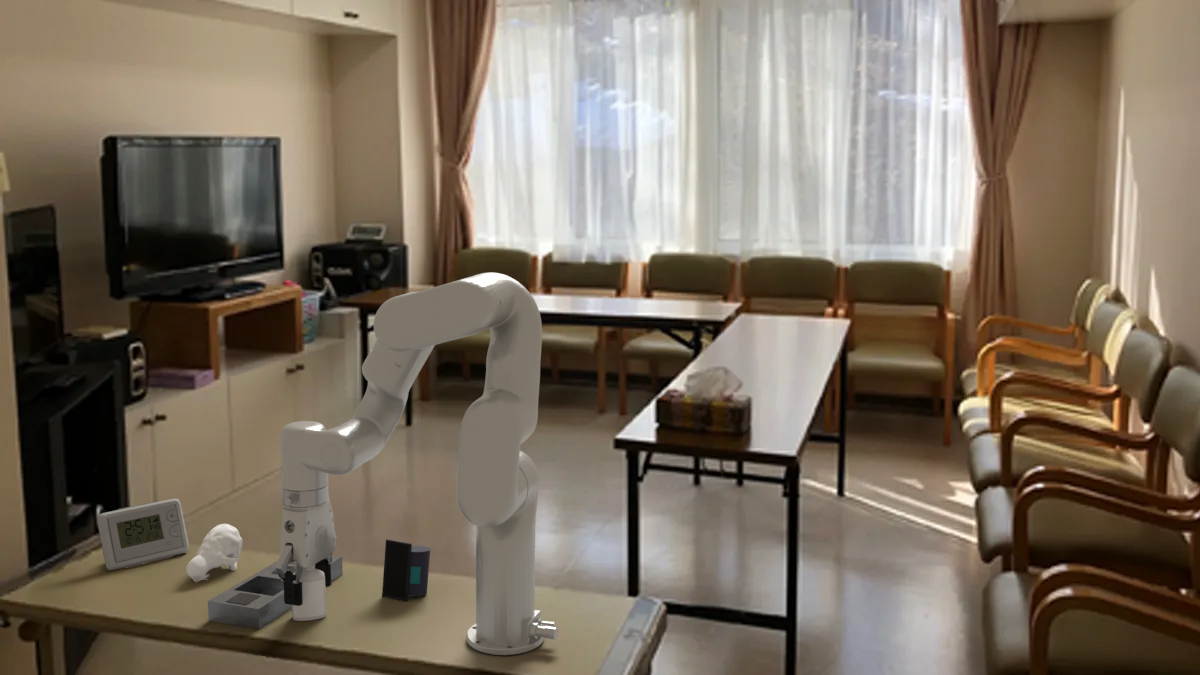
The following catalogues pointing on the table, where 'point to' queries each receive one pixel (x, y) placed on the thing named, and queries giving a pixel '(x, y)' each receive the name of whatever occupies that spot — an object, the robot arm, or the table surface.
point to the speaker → (405, 570)
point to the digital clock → (142, 533)
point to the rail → (257, 598)
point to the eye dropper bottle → (311, 596)
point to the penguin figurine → (216, 552)
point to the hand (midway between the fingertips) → (308, 594)
